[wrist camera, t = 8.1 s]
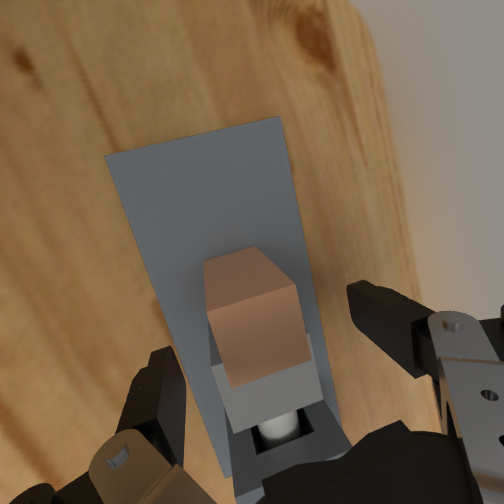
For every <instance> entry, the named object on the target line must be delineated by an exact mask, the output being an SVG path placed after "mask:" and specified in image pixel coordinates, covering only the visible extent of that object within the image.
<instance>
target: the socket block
mask: <svg viewBox="0 0 504 504" xmlns="http://www.w3.org/2000/svg"><path fill="white" fill-rule="evenodd" d="M224 410H225V407H224ZM296 411H297V415H298V418H299V422H300V426H301V430H302V434H303V437H300V438H298V439H295V440H293V441H290V442H288V443H285V444H283V445H280V446H278V447H275V448H273V449H270V450H268V451H265V447H264V444H263V441H262V438H261V434H260V431H259V428H258V425H256V426H253V427H250V428H248V429H245V430H243V431H240V432H237V433H235V434H234V433H233V430H232V427H231V424H230V421H229V418H228V415H227V413H226V410H225V418H226V427H227V435H228V444H229V452H230V460H231V469H232V477H233V486H234V494H235V499H236V502H237V504H255V503H256V502H257V501H258V500H259V499H260V498H262V497H263V496H264V495H265V494H264V489H263V485H262V479H264V478H267V477H269V476H271V475H274V474H276V473H278V472H281V471H283V470H285V469H287V468H290V467H292V466H294V465H297V464H303V463H310V462H318V461H326V460H334V459H338V458H340V457H342V456H343V455H344V454H345V453H346V452H347V451H349V450H350V449H351V448H352V447H353V446H352V445H351V443H350V441H349V440H348V438H347V436H346V435H345V433H344V431H343V430H342V428H341V426H340V425H339V423H338V422H337V420H336V418H335V417H334V415H333V413H332V412H331V410H330V408H329V407H328V405H327V403H326V402H325V400H324V398H323V400H320V401H318V402H315V403H313V404H310V405H307V406H305V407H302V408H300V409H297V410H296Z"/></svg>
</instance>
